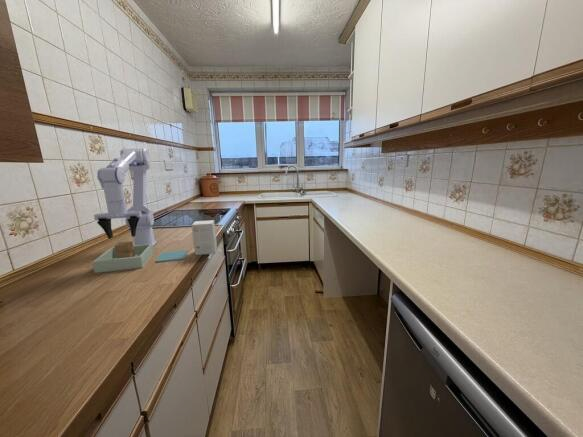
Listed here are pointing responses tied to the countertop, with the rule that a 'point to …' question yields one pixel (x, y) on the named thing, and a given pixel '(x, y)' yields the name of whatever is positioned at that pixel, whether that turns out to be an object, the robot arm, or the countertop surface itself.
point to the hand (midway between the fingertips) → (122, 236)
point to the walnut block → (124, 249)
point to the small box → (204, 237)
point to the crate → (123, 259)
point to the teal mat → (172, 256)
